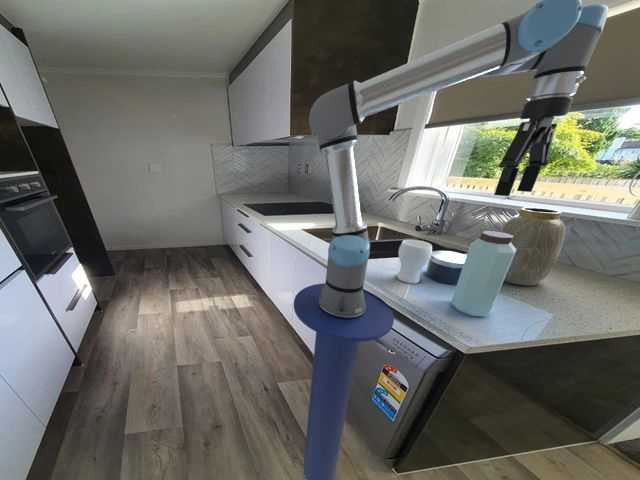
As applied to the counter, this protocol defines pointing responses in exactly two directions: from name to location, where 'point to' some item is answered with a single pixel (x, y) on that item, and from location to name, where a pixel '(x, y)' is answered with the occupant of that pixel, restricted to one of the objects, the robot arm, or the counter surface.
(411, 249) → the cup
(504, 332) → the counter surface
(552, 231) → the vase
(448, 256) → the navy round container
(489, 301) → the water bottle
